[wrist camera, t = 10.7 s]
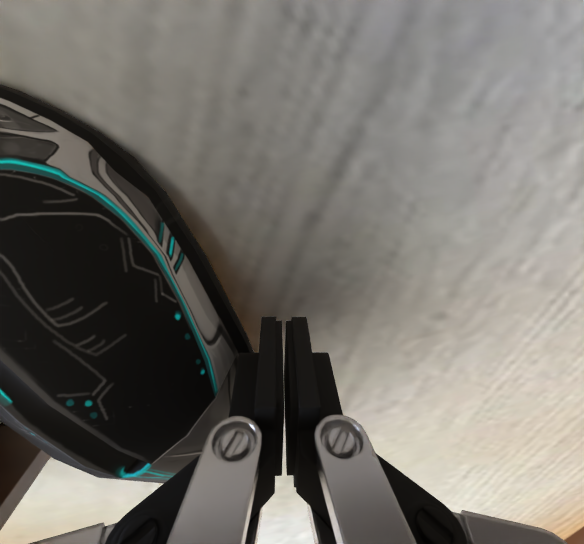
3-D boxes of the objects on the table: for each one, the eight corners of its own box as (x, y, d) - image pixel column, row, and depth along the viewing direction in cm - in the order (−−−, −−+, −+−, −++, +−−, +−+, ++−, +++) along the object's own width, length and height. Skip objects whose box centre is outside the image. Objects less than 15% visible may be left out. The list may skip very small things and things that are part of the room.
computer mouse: (0, -35, 8) (-531, -334, 3) (316, 365, 15) (337, 497, 10) (-175, 152, 10) (-694, 188, 4) (179, 431, 16) (134, 573, 11)
